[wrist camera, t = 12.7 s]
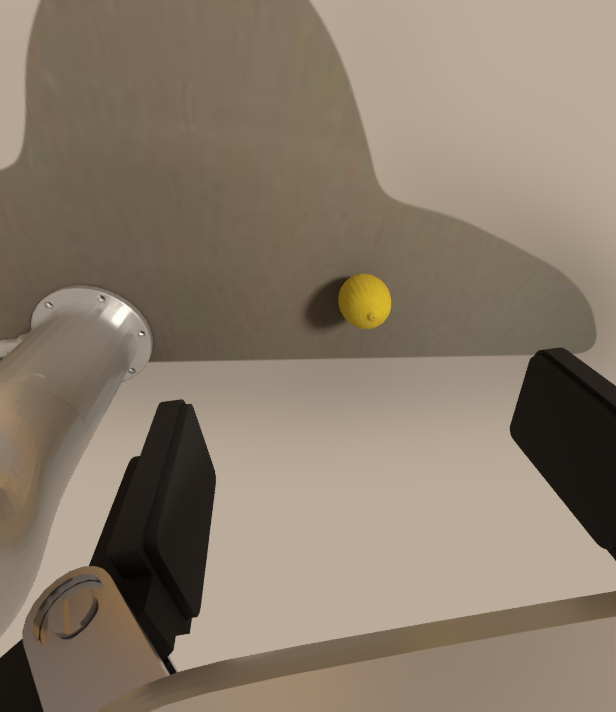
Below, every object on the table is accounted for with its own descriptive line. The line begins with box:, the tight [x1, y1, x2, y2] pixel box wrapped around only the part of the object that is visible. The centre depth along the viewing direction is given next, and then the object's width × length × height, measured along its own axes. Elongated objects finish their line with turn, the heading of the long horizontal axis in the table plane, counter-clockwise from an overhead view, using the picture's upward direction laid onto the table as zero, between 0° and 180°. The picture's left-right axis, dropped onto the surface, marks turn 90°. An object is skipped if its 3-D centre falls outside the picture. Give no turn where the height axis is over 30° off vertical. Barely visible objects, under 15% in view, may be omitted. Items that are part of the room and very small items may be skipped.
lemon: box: [338, 274, 391, 329], centre depth 40 cm, size 6×6×8 cm
